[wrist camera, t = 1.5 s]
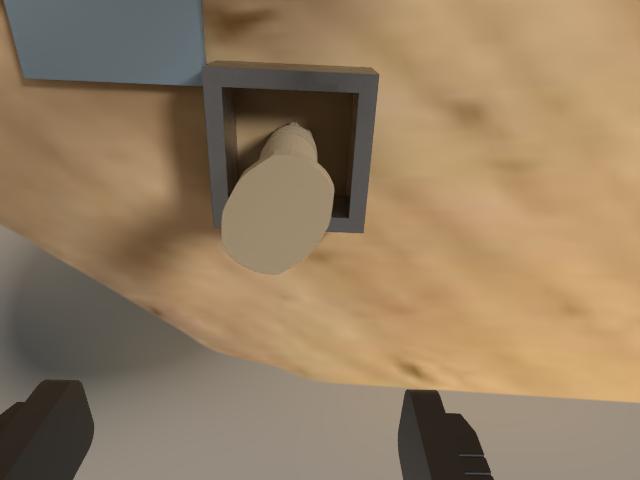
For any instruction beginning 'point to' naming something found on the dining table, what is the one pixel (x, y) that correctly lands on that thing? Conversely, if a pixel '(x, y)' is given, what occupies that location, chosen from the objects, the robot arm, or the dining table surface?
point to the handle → (278, 204)
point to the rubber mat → (109, 40)
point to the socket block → (290, 77)
